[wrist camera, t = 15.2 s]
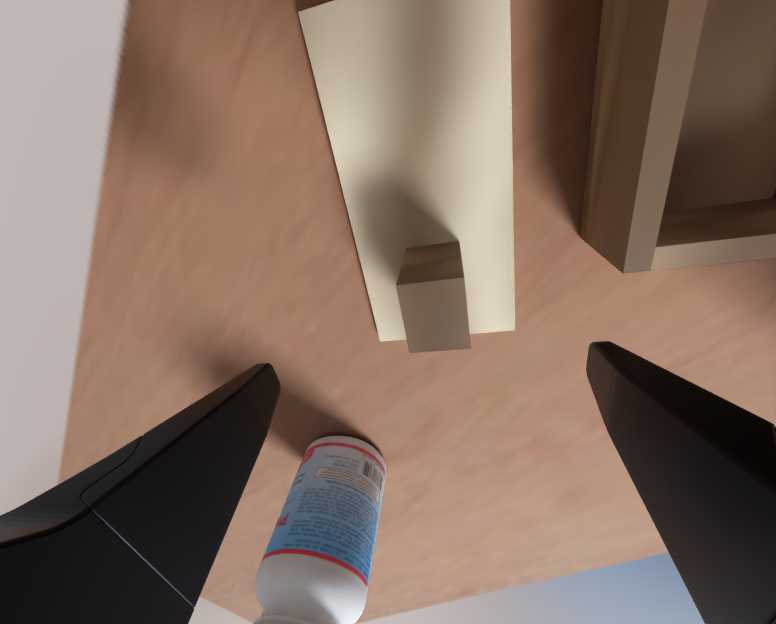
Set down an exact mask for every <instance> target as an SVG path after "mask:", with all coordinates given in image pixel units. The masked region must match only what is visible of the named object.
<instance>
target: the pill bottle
mask: <svg viewBox="0 0 776 624" xmlns="http://www.w3.org/2000/svg"><path fill="white" fill-rule="evenodd" d="M385 477H386V465H385V462H384V459H383V458H382V456H381V455H380V453H379V452H378V451H377V450H376V449H375V448H374V447H372V446H371V445H369V444H368V443H366V442H364V441H362V440H360V439H357V438H353V437H348V436H328V437H323V438H320V439H318V440H316V441H314V442H313V443H312V444H311V445H310V446H309V447H308V448H307V450H306V452H305V455H304V457H303V459H302V462H301V464H300V467H299V469H298V472H297V474H296V477H295V479H294V482H293V484H292V487H291V489H290V492H289V494H288V497H287V499H286V502H285V504H284V507H283V509H282V512H281V514H280V517H279V519H278V522H277V524H276V527H275V529H274V532H273V534H272V537H271V539H270V542H269V544H268V547H267V549H266V552H265V554H264V557H263V559H262V562H261V564H260V567H259V569H258V572H257V575H256V580H255V592H256V597H257V600H258V602H259V604H260V605H261V607H262V608H263V612H262V615H261V617H259V618H257V619H256V620H255V621H254V623H253V624H354V623H355V622H356V621H357V620H358V618H359V617H360V615H361V614H362V612H363V609H364V606H365V603H366V598H367V592H368V586H369V580H370V574H371V567H372V561H373V554H374V548H375V542H376V536H377V529H378V523H379V516H380V510H381V503H382V497H383V490H384V484H385Z"/></svg>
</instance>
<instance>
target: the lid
mask: <svg viewBox="0 0 776 624" xmlns="http://www.w3.org/2000/svg"><path fill="white" fill-rule="evenodd" d="M298 13H299V17H300V21H301V25H302V29H303V33H304V37H305V41H306V45H307V49H308V53H309V57H310V61H311V65H312V70H313V74H314V78H315V82H316V86H317V90H318V94H319V98H320V102H321V106H322V110H323V114H324V118H325V122H326V126H327V130H328V134H329V138H330V142H331V146H332V150H333V154H334V158H335V162H336V166H337V170H338V174H339V178H340V182H341V186H342V190H343V194H344V198H345V202H346V206H347V210H348V214H349V218H350V222H351V226H352V230H353V234H354V238H355V242H356V246H357V250H358V254H359V258H360V262H361V266H362V270H363V274H364V278H365V282H366V286H367V290H368V294H369V298H370V302H371V306H372V310H373V314H374V318H375V322H376V326H377V330H378V334H379V338H380V341H391V340H403V339H407V343H408V348H409V353H417V352H431V351H444V350H458V349H471V343H470V334H475V333H487V332H499V331H511V330H515V292H514V228H513V163H512V99H511V34H510V0H334V1H331V2H328V3H324V4H321V5H318V6H315V7H312V8H309V9H306V10H303V11H300V12H298Z"/></svg>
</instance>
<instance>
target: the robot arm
mask: <svg viewBox="0 0 776 624" xmlns="http://www.w3.org/2000/svg"><path fill="white" fill-rule="evenodd" d="M586 372H587V377H588V380H589V383H590V385H591V388H592V391H593V394H594V396H595V399H596V402H597V405H598V407H599V410H600V413H601V416H602V418H603V421H604V424H605V426H606V429H607V431H608V433H609V435H610V437H611V439H612V441H613V443H614V445H615V447H616V449H617V451H618V453H619V455H620V457H621V459H622V461H623V463H624V465H625V467H626V469H627V471H628V473H629V475H630V477H631V479H632V481H633V483H634V485H635V487H636V489H637V491H638V493H639V495H640V497H641V498H642V500H643V502H644V504H645V506H646V508H647V510H648V512H649V514H650V516H651V518H652V520H653V522H654V524H655V526H656V528H657V530H658V532H659V534H660V536H661V538H662V540H663V542H664V544H665V546H666V548H667V550H668V552H669V554H670V556H671V558H672V559H673V562H674V563H675V565H676V567H677V569H678V571H679V573H680V575H681V577H682V579H683V581H684V583H685V585H686V587H687V589H688V591H689V593H690V595H691V597H692V599H693V601H694V603H695V605H696V607H697V609H698V611H699V612H700V615H701V617H702V619H703V621H704V623H705V624H776V427H775V426H774V424H773V423H771V422H769V421H767V420H765V419H763V418H761V417H759V416H757V415H755V414H753V413H751V412H749V411H747V410H745V409H743V408H741V407H739V406H737V405H735V404H733V403H731V402H729V401H727V400H725V399H723V398H721V397H719V396H717V395H715V394H713V393H711V392H709V391H707V390H705V389H703V388H701V387H699V386H697V385H695V384H693V383H691V382H689V381H687V380H685V379H683V378H681V377H679V376H677V375H675V374H673V373H671V372H669V371H668V370H666V369H664V368H662V367H660V366H658V365H656V364H654V363H652V362H650V361H648V360H646V359H644V358H642V357H640V356H638V355H636V354H634V353H632V352H630V351H628V350H626V349H624V348H622V347H620V346H618V345H616V344H614V343H612V342H610V341H601V342H592V343H591V344H590V346H589V350H588V358H587V366H586ZM280 389H281V385H280V382H279V379H278V377H277V375H276V373H275V370H274V368H273V366H272V365H271V364H269V363H262V364H256V365H254V366H253V367H251V368H250V369H248V370H246V371H245V372H243V373H242V374H240V375H238V376H237V377H235V378H234V379H232V380H230V381H229V382H227V383H225V384H224V385H222V386H221V387H219V388H217V389H216V390H214V391H213V392H211V393H209V394H208V395H206V396H205V397H203V398H201V399H200V400H198V401H196V402H195V403H193V404H192V405H190V406H188V407H187V408H185V409H184V410H182V411H180V412H179V413H177V414H176V415H174V416H172V417H171V418H169V419H167V420H166V421H164V422H163V423H161V424H159V425H158V426H156V427H155V428H153V429H151V430H150V431H148V432H147V433H145V434H144V435H143V436H140V437H138V438H137V439H135V440H134V441H132V442H130V443H129V444H127V445H125V446H124V447H122V448H121V449H119V450H117V451H116V452H114V453H112V454H111V455H109V456H107V457H106V458H104V459H102V460H100V461H99V462H97V463H95V464H94V465H92V466H90V467H88V468H87V469H85V470H83V471H81V472H80V473H78V474H76V475H74V476H73V477H71V478H69V479H67V480H66V481H64V482H62V483H60V484H58V485H57V486H55V487H53V488H51V489H50V490H48V491H46V492H44V493H43V494H41V495H39V496H37V497H35V498H34V499H32V500H30V501H28V502H27V503H25V504H23V505H21V506H19V507H17V508H16V509H14V510H12V511H10V512H7V513H5V514H3V515H1V516H0V624H188V623H189V620H190V618H191V615H192V613H193V611H194V607H195V606H196V603H197V601H198V598H199V596H200V594H201V591H202V589H203V587H204V584H205V582H206V579H207V577H208V575H209V572H210V570H211V567H212V565H213V563H214V560H215V558H216V555H217V553H218V551H219V548H220V546H221V543H222V541H223V539H224V536H225V534H226V532H227V529H228V527H229V524H230V522H231V520H232V517H233V515H234V512H235V510H236V508H237V505H238V503H239V500H240V498H241V496H242V493H243V491H244V488H245V486H246V484H247V481H248V479H249V477H250V474H251V472H252V469H253V467H254V465H255V462H256V460H257V457H258V455H259V453H260V450H261V448H262V445H263V443H264V441H265V438H266V435H267V432H268V429H269V426H270V423H271V420H272V417H273V413H274V410H275V407H276V403H277V400H278V397H279V394H280Z"/></svg>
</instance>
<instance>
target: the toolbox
mask: <svg viewBox="0 0 776 624" xmlns="http://www.w3.org/2000/svg"><path fill="white" fill-rule="evenodd" d="M580 238H582V239H583V240H584V241H585V242H586V243H587V244H589V245H590V246H591V247H592V248H593V249H595V250H596V251H597V252H598V253H599V254H600V255H602V256H603V257H604V258H605V259H606V260H608V261H609V262H610V263H611V264H612V265H613V266H615V267H616V268H617V269H618V270H619V271H621V272H622V273H623V274H624V273H634V272H644V271H654V270H664V269H674V268H684V267H693V266H703V265H713V264H723V263H733V262H743V261H753V260H763V259H773V258H776V0H603V1H602V12H601V22H600V33H599V43H598V53H597V64H596V74H595V85H594V95H593V105H592V116H591V126H590V137H589V147H588V157H587V168H586V178H585V189H584V199H583V209H582V220H581V230H580Z"/></svg>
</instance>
